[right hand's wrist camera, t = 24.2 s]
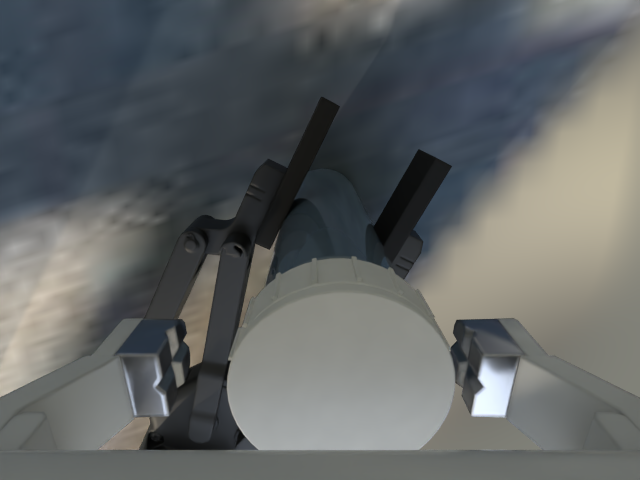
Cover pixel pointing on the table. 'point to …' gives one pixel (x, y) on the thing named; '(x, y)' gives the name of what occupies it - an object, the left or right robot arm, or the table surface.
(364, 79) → the table surface
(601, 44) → the table surface
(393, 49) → the table surface
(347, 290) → the lid
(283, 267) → the grey cylinder
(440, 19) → the table surface
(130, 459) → the right robot arm
